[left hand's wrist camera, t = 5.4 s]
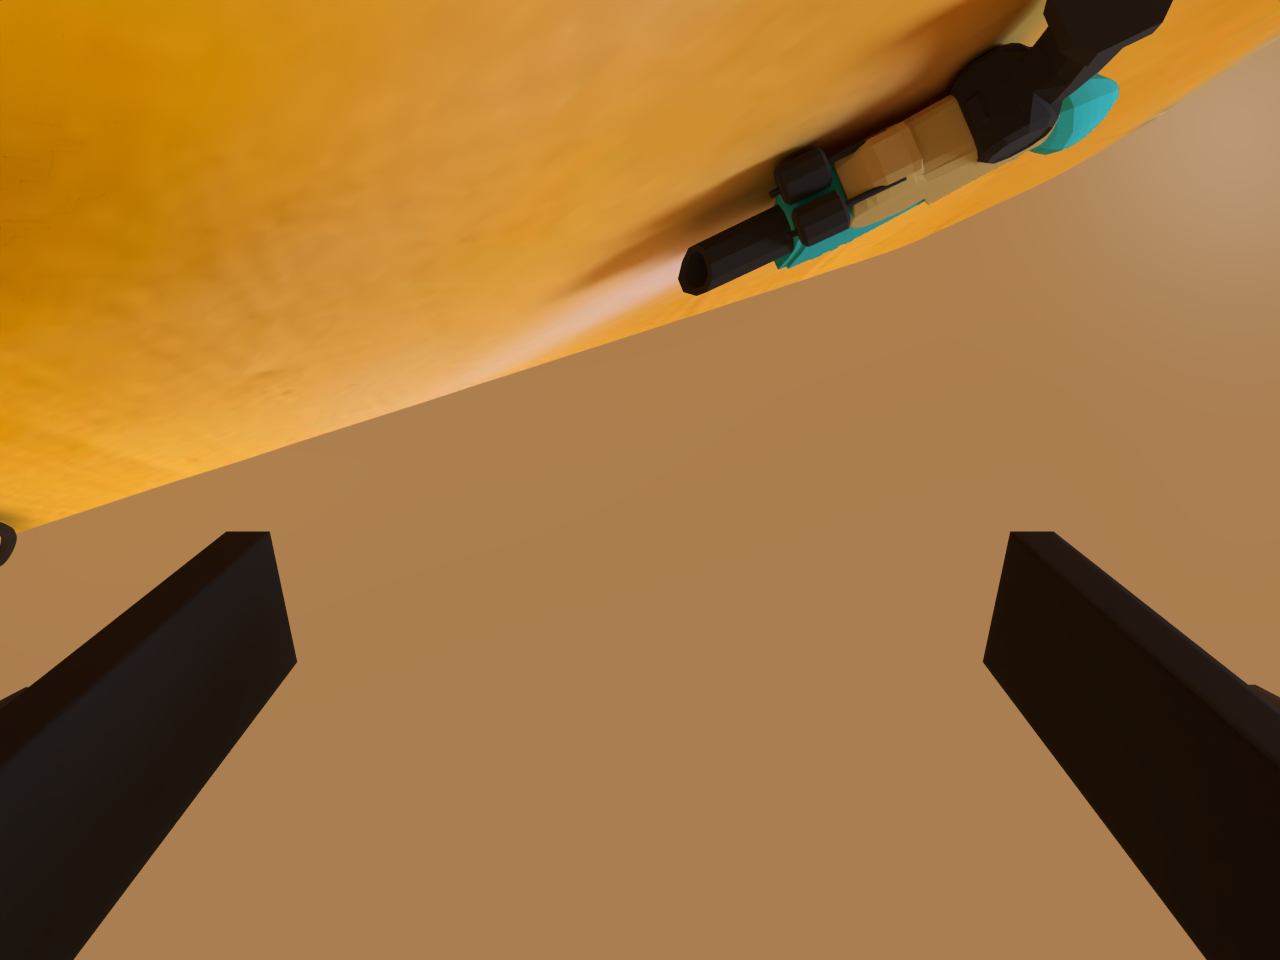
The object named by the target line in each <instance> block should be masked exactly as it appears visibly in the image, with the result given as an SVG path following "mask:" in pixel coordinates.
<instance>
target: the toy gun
mask: <svg viewBox="0 0 1280 960" xmlns="http://www.w3.org/2000/svg"><path fill="white" fill-rule="evenodd" d="M1172 1H1173V0H1047V1H1046V5H1045V9H1044V13H1043V14H1044V17H1045V19H1046V21H1047V24H1048V27H1047V29H1046V30H1045V32H1044V33H1043V34H1042V35H1041V37H1040V38H1039V39H1038V41H1037V42H1036V43H1035V45H1034V46H1033V47H1028V46H1025V45H1023V44H1020V43H1010V44H1007V45H1004V46H1002V47H999V48H996V49H994V50H992V51H990V52H989V53H987V54H985V55H984V56H982V57H981V58H979V59H977V60H976V61H974V62H973V63H972V64H971V65H969V66H968V67H967V68H966V69H965V70H964V71H963V72H962V73H961V74H959V75H958V77H957V79H956V81H955V83H954V85H953V87H952V89H951V91H950V94H949V96H947V97H945V98H943V99H942V100H940V101H938V102H936V103H934V104H933V105H931V106H929V107H927V108H925V109H923V110H922V111H920V112H918V113H916V114H914V115H913V116H911V117H909V118H907V119H905V120H904V121H902V122H900V123H897V124H895V125H893V126H890V127H888V128H886V129H884V130H882V131H880V132H878V133H876V134H874V135H872V136H870V137H868V138H866V139H864V140H862V141H860V142H858V143H857V144H854V145H852V146H850V147H848V148H846V149H844V150H842V151H840V152H838V153H836V154H834V155H832V156H830V157H828V158H827V157H826V155H825V153H824V152H823V150H822V149H820V148H818V147H815V148H813V149H811V150H809V151H807V152H805V153H803V154H801V155H799V156H797V157H795V158H793V159H791V160H789V161H787V162H785V163H783V164H781V165H779V166H777V167H776V168H775V171H774V177H775V181H776V184H777V187H778V188H776V189H774V190H772V191H770V192H769V194H770V196H771V198H773V197H775V196H777V199H776V203H775V205H774V207H772V208H770V209H768V210H766V211H764V212H762V213H760V214H757V215H755V216H753V217H751V218H749V219H747V220H745V221H743V222H741V223H739V224H737V225H735V226H733V227H731V228H729V229H726V230H724V231H722V232H720V233H718V234H716V235H714V236H712V237H710V238H708V239H706V240H704V241H702V242H700V243H698V244H696V245H694V246H692V247H690V248H688V250H687V252H686V255H685V257H684V259H683V261H682V265H681V269H680V273H679V277H678V280H679V282H680V285H681V287H682V290H683V292H685V293H689V294H692V295H695V296H698V295H700V294H703V293H705V292H708V291H710V290H712V289H714V288H716V287H718V286H721V285H723V284H725V283H727V282H729V281H731V280H733V279H736V278H738V277H740V276H742V275H744V274H746V273H748V272H751V271H753V270H755V269H757V268H759V267H761V266H763V265H766V264H768V263H770V262H772V261H774V262H775V264H776V266H777V268H778V269H781V268H784V267H786V266H787V268H788V269H789V268H791V267H793V266H796V265H798V264H800V263H802V262H805V261H807V260H809V259H814V258H816V257H818V256H821V255H822V254H823V253H825V252H827V251H832V250H834V249H836V248H838V246H840V245H842V244H846V243H848V242H851V241H852V240H853V239H855V238H857V237H859V236H861V235H862V234H864V233H866V232H868V231H870V230H872V229H874V228H876V227H878V226H880V225H882V224H884V223H885V222H887V221H889V220H891V219H893V218H894V217H896V216H898V215H900V214H902V213H904V212H905V211H907V210H909V209H911V208H913V207H914V206H916V205H918V204H920V203H922V202H924V201H925V202H926V203H927V204H928V205H929V204H931V203H933V202H934V201H936V200H938V199H940V198H942V197H944V196H946V195H947V194H949V193H951V192H953V191H955V190H957V189H959V188H960V187H962V186H964V185H966V184H968V183H970V182H972V181H973V180H975V179H977V178H979V177H981V176H983V175H985V174H986V173H988V172H990V171H992V170H994V169H996V168H998V167H999V166H1001V165H1003V164H1005V163H1007V162H1009V161H1012V160H1014V159H1017V157H1018V156H1020V155H1022V154H1024V153H1025V152H1027V151H1031V152H1034V153H1038V154H1044V155H1047V154H1050V153H1054V152H1058V151H1061V150H1064V149H1066V148H1068V147H1070V146H1072V145H1074V144H1075V143H1077V142H1079V141H1080V140H1081V139H1083V138H1084V137H1086V136H1087V135H1088V134H1089V133H1090V132H1091V131H1092V130H1093V129H1094V128H1095V127H1096V126H1097V125H1098V124H1099V123H1100V122H1101V121H1102V120H1103V119H1104V118H1105V116H1106V115H1107V113H1108V112H1109V110H1110V109H1111V107H1112V106H1113V104H1114V103H1115V101H1116V100H1117V98H1118V95H1119V88H1118V85H1117V83H1116V82H1115V81H1113V80H1111V79H1109V78H1107V77H1104V76H1102V75H1099V74H1097V73H1098V72H1099V71H1100V70H1101V69H1102V68H1103V67H1104V66H1105V65H1106V64H1107V63H1108V62H1109V61H1110V60H1111V59H1112V58H1113V57H1114V56H1115V55H1116V54H1117V53H1118V52H1119V51H1120V50H1121V49H1122V48H1123V47H1125V46H1127V45H1130V44H1132V43H1134V42H1136V41H1138V40H1140V39H1142V38H1144V37H1146V36H1148V35H1150V34H1152V33H1153V32H1154V31H1155V30H1156V29H1157V28H1158V27H1159V26H1160V24H1161V23H1162V22H1163V20H1164V18H1165V16H1166V14H1167V12H1168V10H1169V8H1170V5H1171V3H1172Z"/></svg>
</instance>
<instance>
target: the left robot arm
mask: <svg viewBox="0 0 1280 960" xmlns="http://www.w3.org/2000/svg"><path fill="white" fill-rule="evenodd" d="M0 536H1V544H0V566H1V565H3V564H4V563H5V562H6V561H7V560H8V558H9V557H10V555H11V553H12V552H13V549H14V547H15V544H16V540H17V536H16V533H15V531H14V529H13V528H12V527H10V526H8V525H6V524H4V523H1V522H0ZM296 663H297V659H296V654H295V649H294V645H293V640H292V635H291V631H290V626H289V621H288V616H287V611H286V607H285V602H284V597H283V593H282V588H281V583H280V578H279V574H278V569H277V564H276V559H275V555H274V550H273V545H272V540H271V536H270V532H225V533H224V534H223V535H221V536H220V537H219V538H218V539H216V540H215V541H214V542H213V543H211V544H210V545H209V546H208V547H206V548H205V549H204V550H202V551H201V552H200V553H199V554H197V555H196V556H195V557H194V558H192V559H191V560H190V561H188V562H187V563H186V564H185V565H183V566H182V567H181V568H180V569H178V570H177V571H176V572H175V573H173V574H172V575H171V576H169V577H168V578H167V579H166V580H164V581H163V582H162V583H161V584H159V585H158V586H157V587H155V588H154V589H153V590H152V591H150V592H149V593H148V594H147V595H145V596H144V597H143V598H142V599H140V600H139V601H138V602H136V603H135V604H134V605H133V606H131V607H130V608H129V609H128V610H126V611H125V612H124V613H122V614H121V615H120V616H119V617H117V618H116V619H115V620H114V621H112V622H111V623H110V624H109V625H107V626H106V627H105V628H103V629H102V630H101V631H100V632H98V633H97V634H96V635H95V636H93V637H92V638H91V639H89V640H88V641H87V642H86V643H84V644H83V645H82V646H81V647H79V648H78V649H77V650H76V651H74V652H73V653H72V654H70V655H69V656H68V657H67V658H65V659H64V660H63V661H62V662H60V663H59V664H58V665H57V666H55V667H54V668H53V669H51V670H50V671H49V672H48V673H46V674H45V675H44V676H43V677H41V678H40V679H39V680H37V681H36V682H35V683H34V684H32V685H31V686H30V687H25V688H23V689H21V690H19V691H17V692H16V693H14V694H12V695H10V696H8V697H6V698H4V699H2V700H0V960H74V958H75V957H76V956H77V954H78V953H79V952H80V950H81V949H82V948H83V946H84V945H85V944H86V942H87V941H88V940H89V938H90V937H91V936H92V934H93V933H94V932H95V930H96V929H97V928H98V926H99V925H100V924H101V922H102V921H103V920H104V918H105V917H106V916H107V914H108V913H109V912H110V910H111V909H112V908H113V906H114V905H115V904H116V902H117V901H118V900H119V898H120V897H121V896H122V894H123V893H124V892H125V890H126V889H127V888H128V886H129V885H130V884H131V882H132V881H133V880H134V878H135V877H136V876H137V874H138V873H139V872H140V870H141V869H142V868H143V866H144V865H145V864H146V862H147V861H148V860H149V858H150V857H151V856H152V854H153V853H154V852H155V850H156V849H157V848H158V846H159V845H160V844H161V843H162V841H163V840H164V839H165V837H166V836H167V834H168V833H169V832H170V831H171V829H172V828H173V827H174V825H175V824H176V822H177V821H178V820H179V819H180V817H181V816H182V815H183V813H184V812H185V810H186V809H187V808H188V807H189V805H190V804H191V803H192V801H193V800H194V799H195V797H196V796H197V795H198V793H199V792H200V791H201V789H202V788H203V787H204V785H205V784H206V783H207V781H208V780H209V779H210V777H211V776H212V775H213V773H214V772H215V771H216V769H217V768H218V767H219V765H220V764H221V763H222V761H223V760H224V759H225V757H226V756H227V755H228V753H229V752H230V751H231V749H232V748H233V747H234V745H235V744H236V743H237V741H238V740H239V739H240V737H241V736H242V735H243V733H244V732H245V731H246V729H247V728H248V727H249V725H250V724H251V723H252V721H253V720H254V719H255V717H256V716H257V715H258V713H259V712H260V711H261V709H262V708H263V707H264V705H265V704H266V703H267V701H268V700H269V699H270V697H271V696H272V695H273V693H274V692H275V691H276V689H277V688H278V687H279V685H280V684H281V683H282V681H283V680H284V679H285V677H286V676H287V675H288V673H289V672H290V671H291V669H292V668H293V667H294V665H295V664H296ZM983 663H984V664H985V665H986V667H987V668H988V669H989V671H990V672H991V673H992V675H993V676H994V677H995V679H996V680H997V681H998V683H999V684H1000V685H1001V687H1002V688H1003V689H1004V691H1005V692H1006V693H1007V695H1008V696H1009V697H1010V699H1011V700H1012V701H1013V703H1014V704H1015V705H1016V707H1017V708H1018V709H1019V711H1020V712H1021V713H1022V715H1023V716H1024V717H1025V719H1026V720H1027V721H1028V723H1029V724H1030V725H1031V727H1032V728H1033V729H1034V731H1035V732H1036V733H1037V735H1038V736H1039V737H1040V739H1041V740H1042V741H1043V743H1044V744H1045V745H1046V747H1047V748H1048V749H1049V751H1050V752H1051V753H1052V755H1053V756H1054V757H1055V759H1056V760H1057V761H1058V763H1059V764H1060V765H1061V767H1062V768H1063V769H1064V771H1065V772H1066V773H1067V775H1068V776H1069V777H1070V779H1071V780H1072V781H1073V783H1074V784H1075V785H1076V787H1077V788H1078V789H1079V791H1080V792H1081V793H1082V795H1083V796H1084V797H1085V799H1086V800H1087V801H1088V803H1089V804H1090V805H1091V807H1092V808H1093V809H1094V811H1095V812H1096V813H1097V814H1098V816H1099V817H1100V819H1101V820H1102V821H1103V823H1104V824H1105V825H1106V826H1107V828H1108V829H1109V830H1110V832H1111V833H1112V834H1113V836H1114V837H1115V839H1116V840H1117V841H1118V843H1119V844H1120V845H1121V846H1122V848H1123V849H1124V850H1125V852H1126V853H1127V854H1128V856H1129V857H1130V858H1131V860H1132V861H1133V862H1134V864H1135V865H1136V866H1137V868H1138V869H1139V870H1140V872H1141V873H1142V874H1143V876H1144V877H1145V878H1146V880H1147V881H1148V882H1149V884H1150V885H1151V886H1152V888H1153V889H1154V890H1155V892H1156V893H1157V894H1158V896H1159V897H1160V898H1161V900H1162V901H1163V902H1164V904H1165V905H1166V906H1167V908H1168V909H1169V910H1170V912H1171V913H1172V914H1173V916H1174V917H1175V918H1176V920H1177V921H1178V922H1179V924H1180V925H1181V926H1182V928H1183V929H1184V930H1185V932H1186V933H1187V934H1188V936H1189V937H1190V938H1191V940H1192V941H1193V942H1194V944H1195V945H1196V946H1197V948H1198V949H1199V950H1200V952H1201V953H1202V954H1203V956H1204V957H1205V958H1206V960H1280V697H1278V696H1276V695H1274V694H1272V693H1270V692H1268V691H1266V690H1264V689H1263V688H1261V687H1259V686H1257V685H1248V684H1246V683H1245V682H1244V681H1243V680H1241V679H1240V678H1239V677H1237V676H1236V675H1235V674H1234V673H1232V672H1231V671H1230V670H1228V669H1227V668H1226V667H1225V666H1223V665H1222V664H1221V663H1220V662H1218V661H1217V660H1216V659H1215V658H1213V657H1212V656H1211V655H1209V654H1208V653H1207V652H1206V651H1204V650H1203V649H1202V648H1201V647H1199V646H1198V645H1197V644H1196V643H1194V642H1193V641H1192V640H1190V639H1189V638H1188V637H1187V636H1185V635H1184V634H1183V633H1182V632H1180V631H1179V630H1178V629H1177V628H1175V627H1174V626H1173V625H1171V624H1170V623H1169V622H1168V621H1166V620H1165V619H1164V618H1163V617H1161V616H1160V615H1159V614H1158V613H1156V612H1155V611H1154V610H1152V609H1151V608H1150V607H1149V606H1147V605H1146V604H1145V603H1144V602H1142V601H1141V600H1140V599H1138V598H1137V597H1136V596H1135V595H1133V594H1132V593H1131V592H1130V591H1128V590H1127V589H1126V588H1125V587H1123V586H1122V585H1121V584H1119V583H1118V582H1117V581H1116V580H1114V579H1113V578H1112V577H1111V576H1109V575H1108V574H1107V573H1105V572H1104V571H1103V570H1102V569H1100V568H1099V567H1098V566H1097V565H1095V564H1094V563H1093V562H1092V561H1090V560H1089V559H1088V558H1086V557H1085V556H1084V555H1083V554H1081V553H1080V552H1079V551H1078V550H1076V549H1075V548H1074V547H1072V546H1071V545H1070V544H1069V543H1067V542H1066V541H1065V540H1064V539H1062V538H1061V537H1060V536H1058V535H1057V534H1056V533H1055V532H1010V536H1009V540H1008V545H1007V550H1006V555H1005V559H1004V564H1003V569H1002V574H1001V578H1000V583H999V588H998V593H997V597H996V602H995V607H994V612H993V616H992V621H991V626H990V630H989V635H988V640H987V645H986V649H985V654H984V659H983Z"/></svg>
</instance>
